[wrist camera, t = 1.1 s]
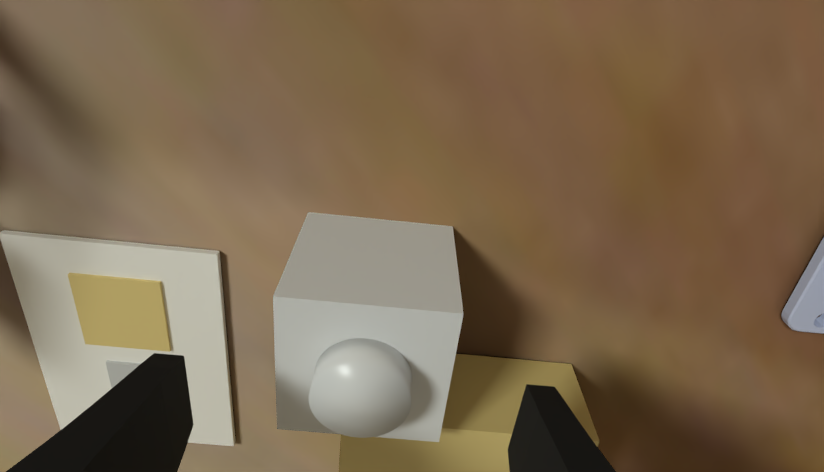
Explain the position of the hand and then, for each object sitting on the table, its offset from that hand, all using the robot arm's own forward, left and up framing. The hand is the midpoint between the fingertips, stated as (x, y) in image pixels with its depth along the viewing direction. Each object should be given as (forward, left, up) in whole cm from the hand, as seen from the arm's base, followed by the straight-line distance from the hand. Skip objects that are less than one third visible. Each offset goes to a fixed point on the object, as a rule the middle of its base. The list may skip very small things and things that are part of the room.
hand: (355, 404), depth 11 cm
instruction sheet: (+7, +3, -5) cm, 9 cm away
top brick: (0, 0, -5) cm, 5 cm away
